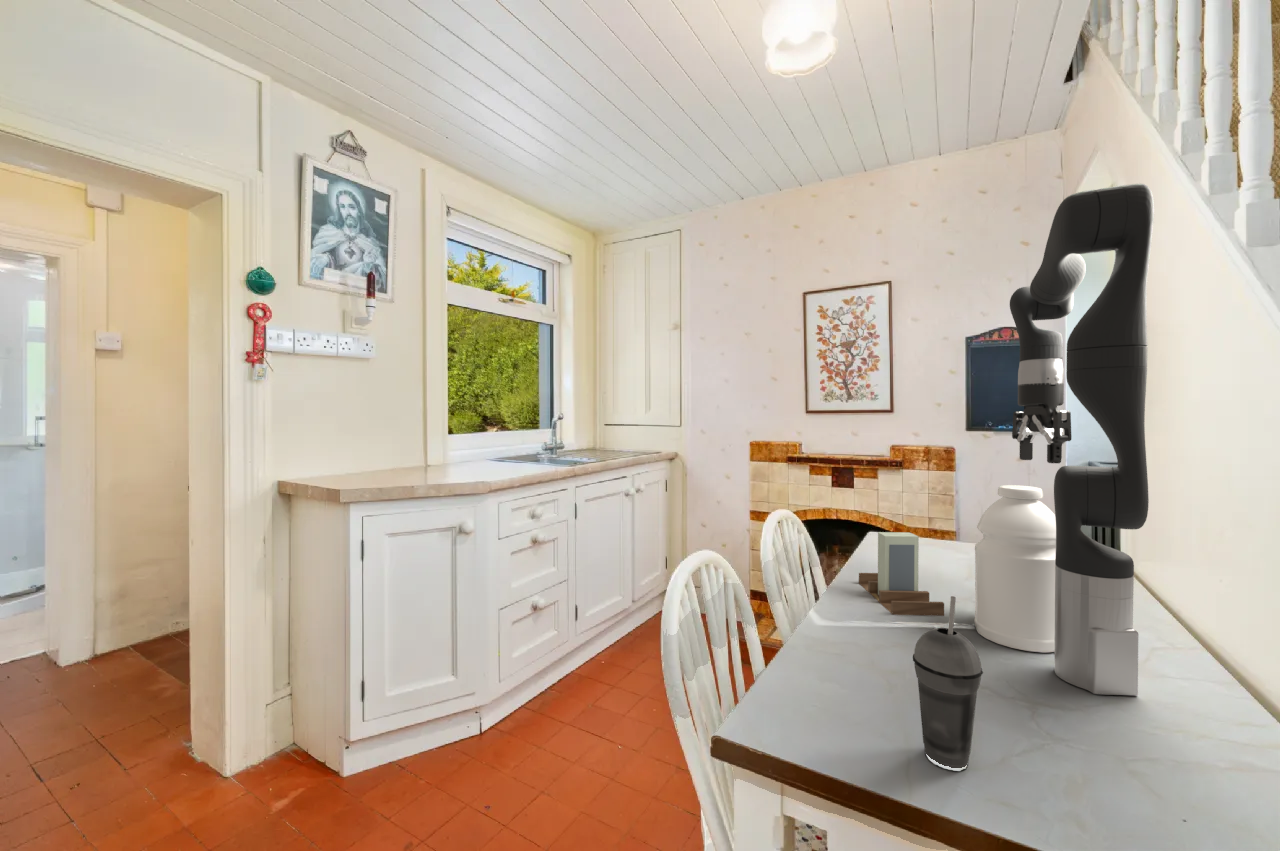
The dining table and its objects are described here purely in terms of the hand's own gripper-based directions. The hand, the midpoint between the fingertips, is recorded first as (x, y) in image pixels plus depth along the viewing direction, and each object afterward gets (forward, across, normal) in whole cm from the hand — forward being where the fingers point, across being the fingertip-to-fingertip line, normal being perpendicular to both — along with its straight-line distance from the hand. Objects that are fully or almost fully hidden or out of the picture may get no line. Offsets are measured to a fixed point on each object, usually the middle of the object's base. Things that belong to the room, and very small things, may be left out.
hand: (1039, 461), depth 109 cm
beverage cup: (+33, +49, -42) cm, 72 cm away
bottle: (+32, +12, -11) cm, 36 cm away
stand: (+32, -5, -26) cm, 41 cm away
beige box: (+31, -5, -26) cm, 40 cm away
